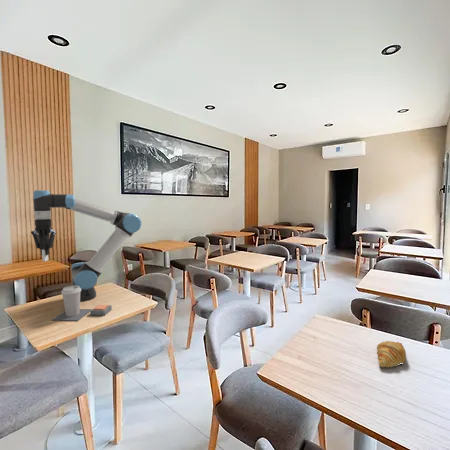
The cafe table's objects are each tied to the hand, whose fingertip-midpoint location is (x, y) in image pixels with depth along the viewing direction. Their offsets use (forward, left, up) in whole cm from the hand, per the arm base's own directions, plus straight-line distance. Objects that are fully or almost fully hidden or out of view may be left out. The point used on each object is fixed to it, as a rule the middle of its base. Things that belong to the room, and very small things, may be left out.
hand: (45, 260), depth 147 cm
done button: (0, +31, -29) cm, 42 cm away
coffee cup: (+4, +16, -29) cm, 34 cm away
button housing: (0, +31, -29) cm, 42 cm away
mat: (+4, +17, -29) cm, 34 cm away
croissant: (+38, +169, -30) cm, 175 cm away
